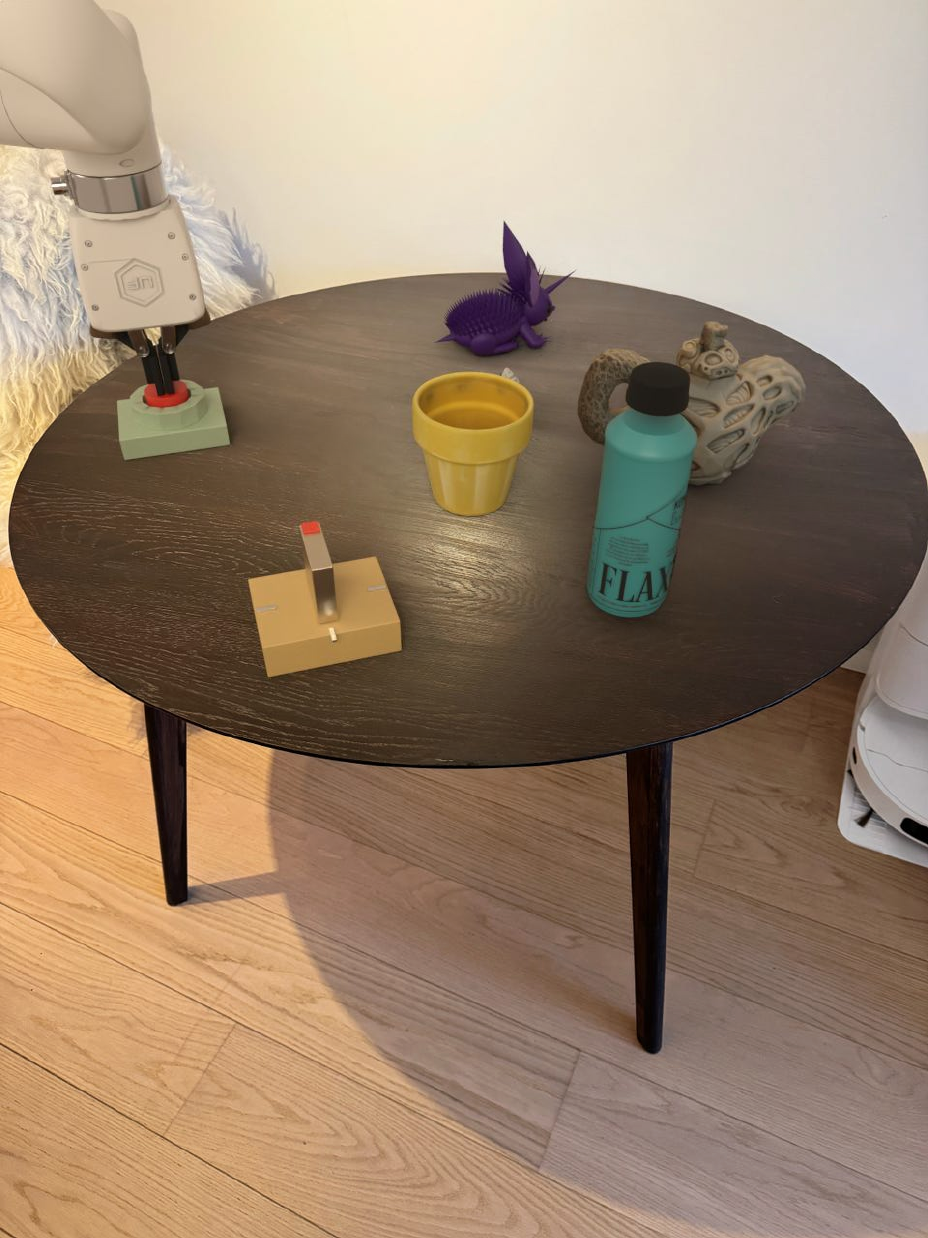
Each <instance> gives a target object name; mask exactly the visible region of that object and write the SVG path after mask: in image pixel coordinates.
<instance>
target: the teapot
mask: <svg viewBox="0 0 928 1238" xmlns="http://www.w3.org/2000/svg"><path fill="white" fill-rule="evenodd" d="M729 332H730V331H729V326H728V325H726V324H721V323H720V322H718V321H705V322H704V325H703V328H702V330H701V334H700V336H699V337H695V338H693V339H689V340H685V341H683V342H682V345H681V346H680V348H679V349H678V350H677V353H676V358H675V365H677V366H679V367H681V368H683V369H685V370H686V371H687V372H688V374H689V376H690V389H689V403H688V407H687V408H686V410H684V411H683V412H681V413H679V414H681V415H682V416H683V417H684V418H685V419H686V420H687V421H688V422H689V423H690V424H691V426H692V427H693V428H694V430H695V431H696V434H697V445H696V448H695V449H694V454H693V459H692V464H691V471H690V473H693V474H692V475H691V474H690V477H691V478H690V477H689V479H690V480H689V482H690V483H688V486H689V485H690V486H693V485H694V486H697V487H698V486H703V485H707V484H715V485H717V484H722V483H723V482H724V480H726V479H727V478H728V477H729V476H731V475H732V472H733V471H736V470H738V469H741V468H742V467H744V466H745V465H746V464H747V463H748V462H749V461H750V459H752V458H753V457H754V454H755V452H756V449H757V447H758V444H759V443H760V441H761V438H762V437H763V435H764V434H765V432H766V431H768V430H769V429H770V428H771V427H773V426H775V425H777V424H779V423H781V422H783V421H785V420H786V419H788V418H789V417H790V416H791V415H792V414H793V412H794V411H795V410H796V409H797V408H798V407H801V406H802V405H804V404H805V397H806V391H807V390H806V389H807V385H806V384H805V382H804V379H803V376H802V374H801V373H800V372H799V371H798V370H797V368H795V367H794V366H793V365H791V364H790V363H789V362H787V360H785V359H783V358H782V357H778V356H773V355H772V356H771V355H769V354H764V355H762V356H760V357H759V356H758V357H755V358H750V359H749V360H747V361H745V362H744V363H741V358H740V356H739V352H738V350H737V349H736V348H735V347H734V345H733V344H732V343H731V342H729V340H727V339H725V338H726V337H727V335H728V333H729ZM648 362H652V361H650V359H648V358H646V357H644V356H641V355H640V354H638V353H637V352H636V351H634V350H633V349H622V348H607V349H606V350H605V351H603V352H602V353H599V355H597V356H596V357H595V358H594V359H593V360H592V362H591V363H590V366H589V367H588V369H587V371H586V372H585V374H584V377H583V381H582V384H581V388H580V391H579V396H578V399H577V400H578V401H577V411H576V412H577V413H576V414H577V417H578V420H579V423H580V425H581V428H582V430H583V432H584V433H585V435H586V436H587V437H589V439H590V440H591V441H592V442H593V443H594V444H598V445H599V446H604V447H605V439H606V438H605V431H606V427H607V425H608V423H609V422H610V421H611V420H612V419H613V418H615V417H616V416H618V415H619V414H621V413H622V412H624V411H626V410H628V409H630V408H631V407H630V406H629V405H628V404H627V403H626V405H625V406H624V407H620V408H617V407H616V408H611V407H610V398H611V396H612V393H613V392H614V390H615V389H616V387H617V386H620V385H621V384H627V385H629V380H630V375H631V372H632V370H633V369H634V368H635V367H636V366H638V365H640V364H643V363H648Z"/></svg>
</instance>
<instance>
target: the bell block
mask: <svg viewBox="0 0 928 1238" xmlns="http://www.w3.org/2000/svg"><path fill="white" fill-rule="evenodd" d="M180 381H182V382H184V383H185V384H186V386H187V390H188V395H189V399H188V400H187V401H186V402H184V403H182V404H180V405H177V406H174V407H166V408H158V407H150V406H148V405H147V402H146V398H145V394H144V389H145V388H146V386H148V385H149V384H147V383H146V384H144V385H142V386H139V387H138V388H137V389H136V390H135V391H133V393H131V394H130V395H129V398H125V399H118V400H116V408H117V410H116V411H117V426H118V427H117V428H118V429H117V430H118V442H119V446H120V449H121V453H122V456H123V460H124V461H128V460H136V459H143V458H149V457H156V456H164V455H169V454H177V453H184V452H191V451H197V450H203V449H205V450H206V449H211V448H218V447H222V446H223V447H224V446H230V445H231V440H230V435H229V428H228V424H227V420H226V415H225V411H224V406H223V405H224V404H223V401H222V396H221V391H220V388H219V386H217V387H216V386H215V387H208V388H204V387H203V386H201V385H200V384H198V383H196V382H195V381H193V380H188V379H180Z"/></svg>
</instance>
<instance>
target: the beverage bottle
mask: <svg viewBox="0 0 928 1238" xmlns="http://www.w3.org/2000/svg"><path fill="white" fill-rule="evenodd" d="M689 389H690V376H689V374H688V372H687V371H686V370H685V369H683V368H681V367H679V366H677V365H676V364H674V363H670V362H664V361H651V362H648V363H643V364H640V365H638V366H636V367H635V368H634V369H633V370H632V372H631V375H630V380H629V384H627V388H626V391H625V403H626V405H627V404H628V405H629V406H630V407H631V408H630V409H628V410H626V411H624V412H622V413H621V414H619V415H618V416H616V417H615V418H613V419H612V420H611V421H610V422H609V423H608V425H607V427H606V431H605V438H606V439H605V446H604V447H603V457H602V465H601V474H600V483H599V490H598V492H599V493H598V498H597V507H596V515H595V520H594V525H593V526H592V527H591V528H592V529H593V530H591V536H592V537H590V540H589V541H590V544H591V547H590V549H589V552H590V553H588V555H587V556H588V558H587V560H588V561H587V563H586V564H587V568H586V572H585V573H586V574H585V577H584V578H585V579H586V581H585V583H584V585H585V586H586V587H585V589H586V591H587V593H588V596H589V599H590V600H591V602H592V603H593V604H594V605H595V606H596V607H598V608H599V609H600V610H602V611H604V612H606V613H607V614H610V615H613V616H616V617H621V618H623V617H624V618H639V617H645V616H647V615H650V614H653V613H655V612H656V611H657V610H658V609H659V608H660V607H661V606H662V604H663V603H664V602H665V600H666V598H667V595H669V593H670V588H671V586H669V585H670V584H671V582H672V580H673V579H672V578H673V575H674V570H675V563H676V559H677V554H678V546H679V544H680V540H681V531H682V528H680V527H681V524H682V523H681V522H682V519H683V514H684V513H685V512H686V510H685V509H686V507H687V500H688V498H689V493H690V489H691V485H688V483H690V482H689V480H690V479H689V477H690V474H691V475H692V474H693V473H690V471H691V464H692V459H693V454H694V449H695V448H696V445H697V434H696V431H695V430H694V428H693V427H692V426H691V424H690V423H689V422H688V421H687V420H686V419H685V418H684V417H683V416H682V415H681V414H679V413H681V412H683V411H684V410H686V408H687V407H688V403H689ZM690 478H691V477H690Z"/></svg>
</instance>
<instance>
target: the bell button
mask: <svg viewBox="0 0 928 1238" xmlns="http://www.w3.org/2000/svg"><path fill="white" fill-rule="evenodd" d="M163 381H164V379H163ZM173 386H174V392H175V394H169V393H167V392H166V388H165V383H164V389H165V393H164V394H163V395H160V396H158V395H157V391H156V387H155V384H149V385H148V386H146V388H145V389H144V394H145V398H146V402H147V405H148V406H150V407H158V408H166V407H174V406H177V405H180V404H182V403H184V402H186V401H187V400H188V399H189V395H188V390H187V386H186V384H185V383H184V382H182V381H180V380H179V381H173Z"/></svg>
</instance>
